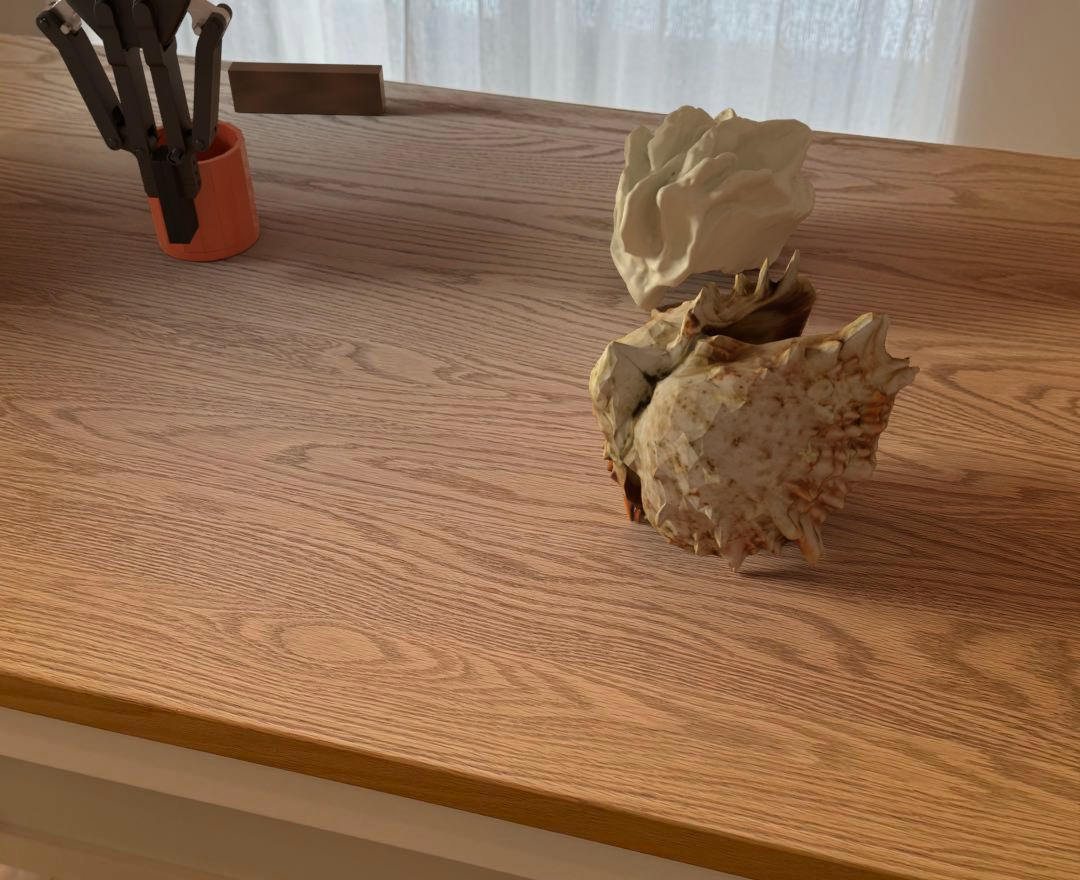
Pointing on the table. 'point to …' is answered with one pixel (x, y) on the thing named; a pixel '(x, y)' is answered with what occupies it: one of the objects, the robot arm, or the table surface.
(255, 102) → the side rail
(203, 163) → the cup
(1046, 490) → the table surface
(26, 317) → the table surface
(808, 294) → the seashell
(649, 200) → the wavy plaster lump
